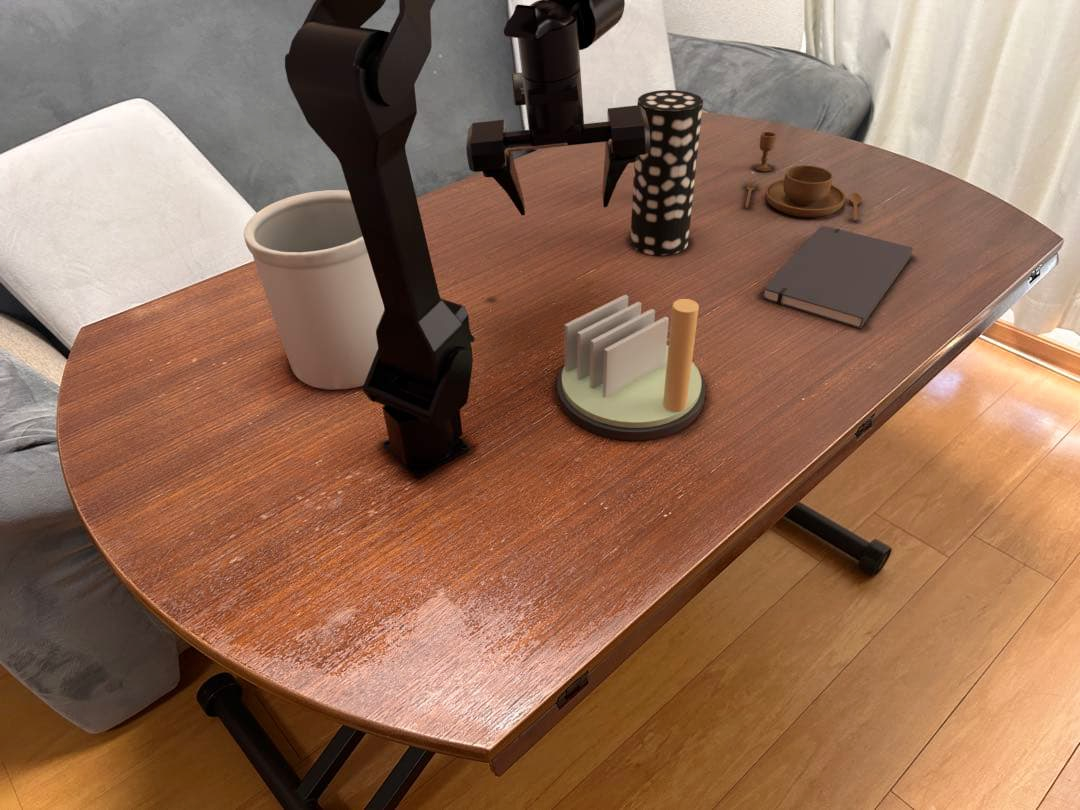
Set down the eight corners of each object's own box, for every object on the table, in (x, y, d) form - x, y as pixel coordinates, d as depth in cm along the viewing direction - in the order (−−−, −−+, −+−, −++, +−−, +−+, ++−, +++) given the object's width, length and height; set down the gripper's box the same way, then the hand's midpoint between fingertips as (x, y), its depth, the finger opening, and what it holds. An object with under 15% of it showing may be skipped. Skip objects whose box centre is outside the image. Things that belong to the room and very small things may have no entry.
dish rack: (630, 449, 74) (638, 341, 66) (533, 379, 83) (529, 277, 75) (729, 386, 81) (747, 282, 73) (630, 328, 90) (636, 230, 82)
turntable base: (630, 463, 74) (630, 454, 73) (527, 388, 84) (527, 379, 83) (734, 395, 82) (736, 386, 81) (629, 334, 92) (630, 325, 91)
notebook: (860, 329, 91) (910, 257, 104) (863, 318, 90) (913, 247, 103) (760, 298, 97) (819, 234, 110) (762, 288, 96) (821, 224, 109)
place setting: (740, 214, 116) (746, 176, 112) (751, 164, 131) (757, 130, 127) (861, 226, 112) (871, 188, 108) (858, 173, 127) (867, 138, 123)
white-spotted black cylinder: (621, 248, 108) (627, 105, 96) (642, 224, 114) (651, 87, 101) (676, 260, 105) (690, 114, 93) (696, 235, 111) (711, 94, 98)
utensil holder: (284, 405, 83) (240, 262, 71) (283, 333, 94) (244, 199, 83) (419, 381, 85) (396, 239, 74) (402, 313, 97) (379, 181, 85)
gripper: (638, 27, 78) (640, 164, 90) (461, 47, 80) (484, 180, 91) (651, 72, 71) (650, 216, 82) (454, 94, 72) (480, 233, 83)
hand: (564, 209), depth 85 cm, fingers open, 9 cm apart
